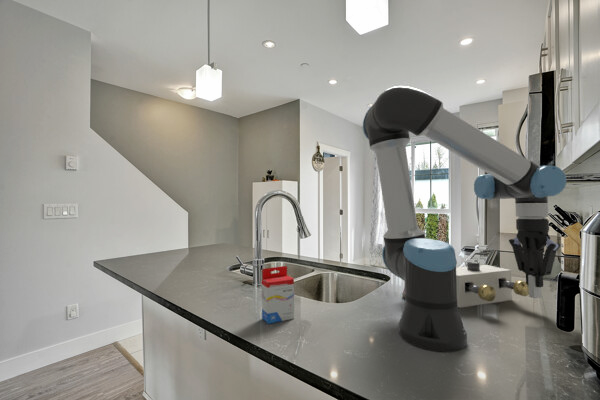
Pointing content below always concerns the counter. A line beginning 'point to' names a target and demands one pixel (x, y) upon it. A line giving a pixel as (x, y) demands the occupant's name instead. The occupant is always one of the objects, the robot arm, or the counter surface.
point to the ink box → (277, 295)
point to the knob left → (482, 291)
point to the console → (482, 277)
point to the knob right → (516, 286)
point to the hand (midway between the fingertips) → (535, 297)
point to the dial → (473, 266)
